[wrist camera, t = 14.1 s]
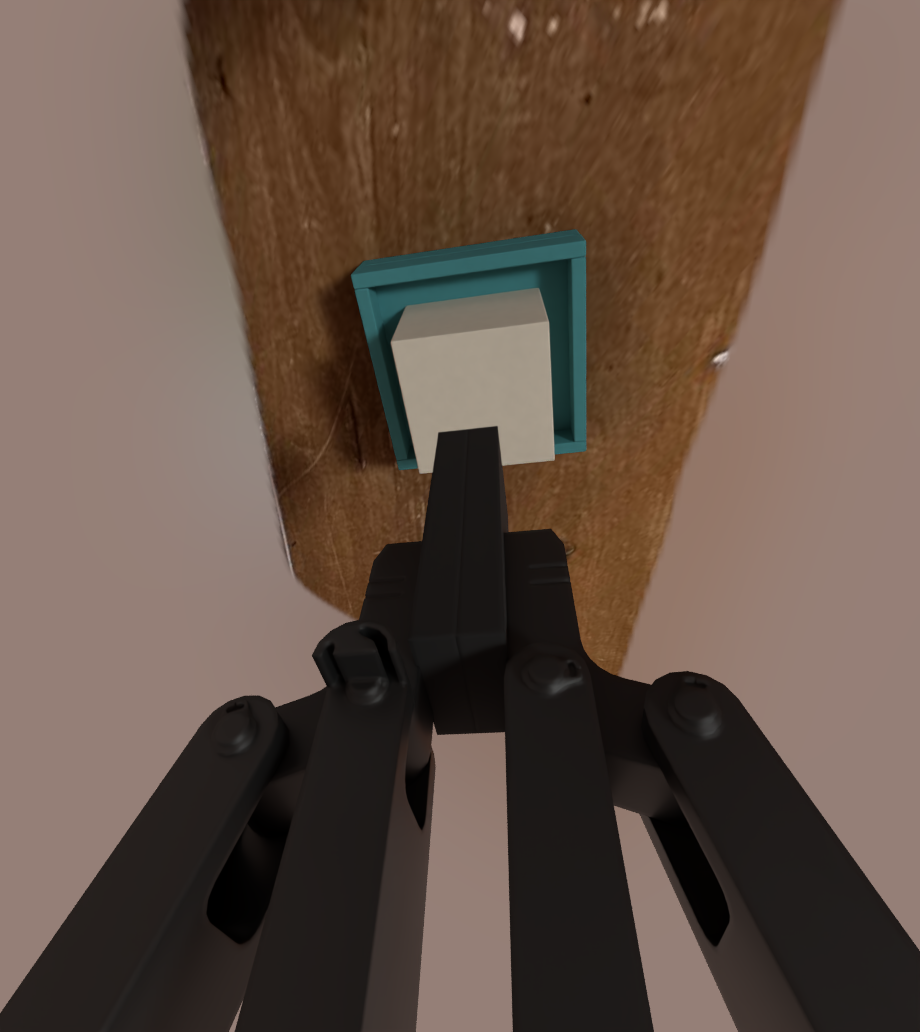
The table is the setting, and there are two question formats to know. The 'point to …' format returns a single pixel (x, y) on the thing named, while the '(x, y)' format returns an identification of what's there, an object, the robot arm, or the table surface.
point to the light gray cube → (478, 373)
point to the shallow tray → (475, 273)
